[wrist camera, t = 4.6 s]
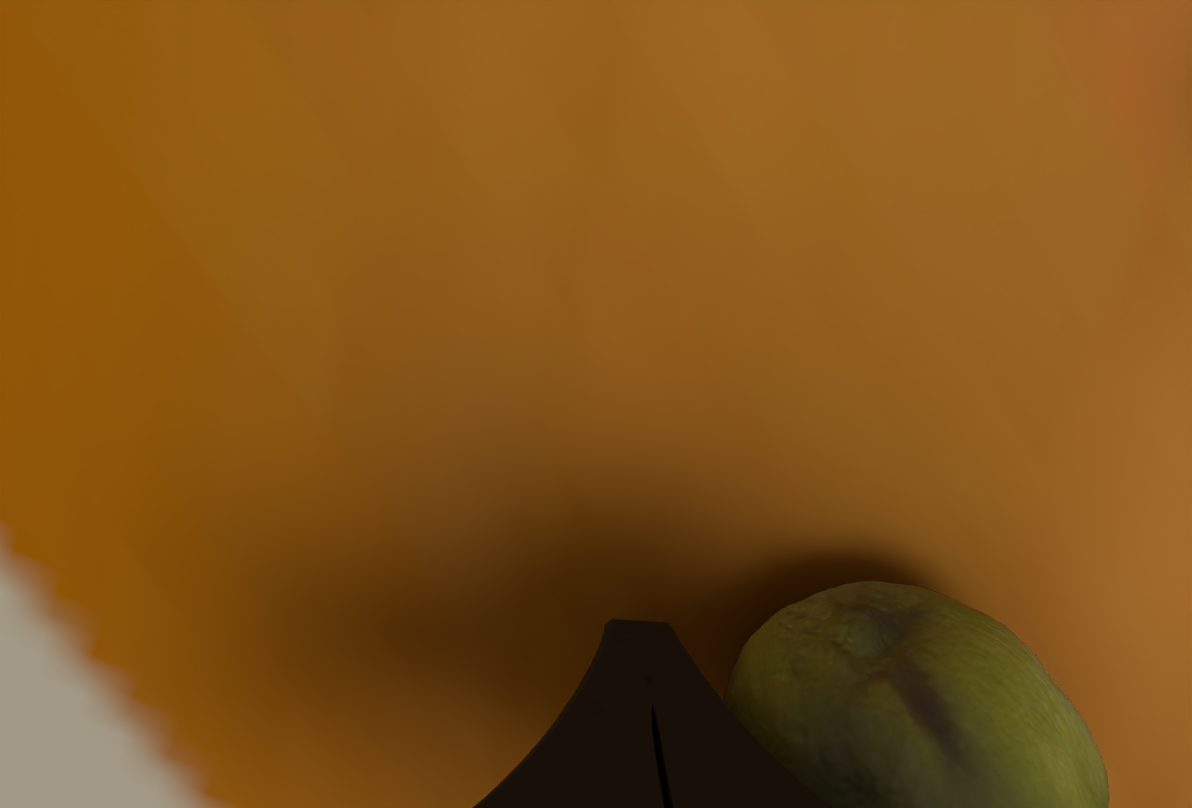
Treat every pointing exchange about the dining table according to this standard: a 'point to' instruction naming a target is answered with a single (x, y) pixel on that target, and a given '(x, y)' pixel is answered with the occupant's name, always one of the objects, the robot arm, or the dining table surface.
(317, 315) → the dining table surface
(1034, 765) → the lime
